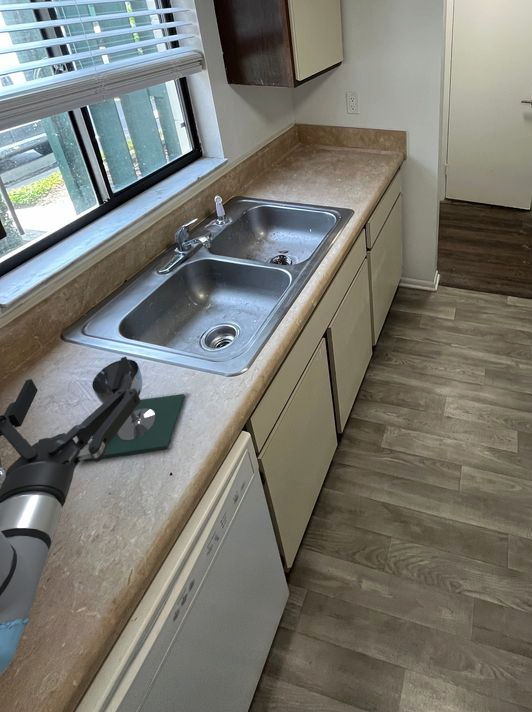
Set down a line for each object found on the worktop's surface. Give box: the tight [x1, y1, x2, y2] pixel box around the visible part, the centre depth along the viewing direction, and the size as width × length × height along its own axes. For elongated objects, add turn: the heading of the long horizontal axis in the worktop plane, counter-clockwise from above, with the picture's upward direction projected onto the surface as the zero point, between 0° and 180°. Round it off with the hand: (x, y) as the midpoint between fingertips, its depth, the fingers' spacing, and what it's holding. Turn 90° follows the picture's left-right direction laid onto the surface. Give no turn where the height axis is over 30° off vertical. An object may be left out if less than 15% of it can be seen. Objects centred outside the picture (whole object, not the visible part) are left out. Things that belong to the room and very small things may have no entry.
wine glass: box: [91, 358, 155, 440], centre depth 90 cm, size 8×8×15 cm
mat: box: [82, 393, 186, 462], centre depth 94 cm, size 16×12×1 cm
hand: (80, 373), depth 73 cm, fingers open, 13 cm apart
